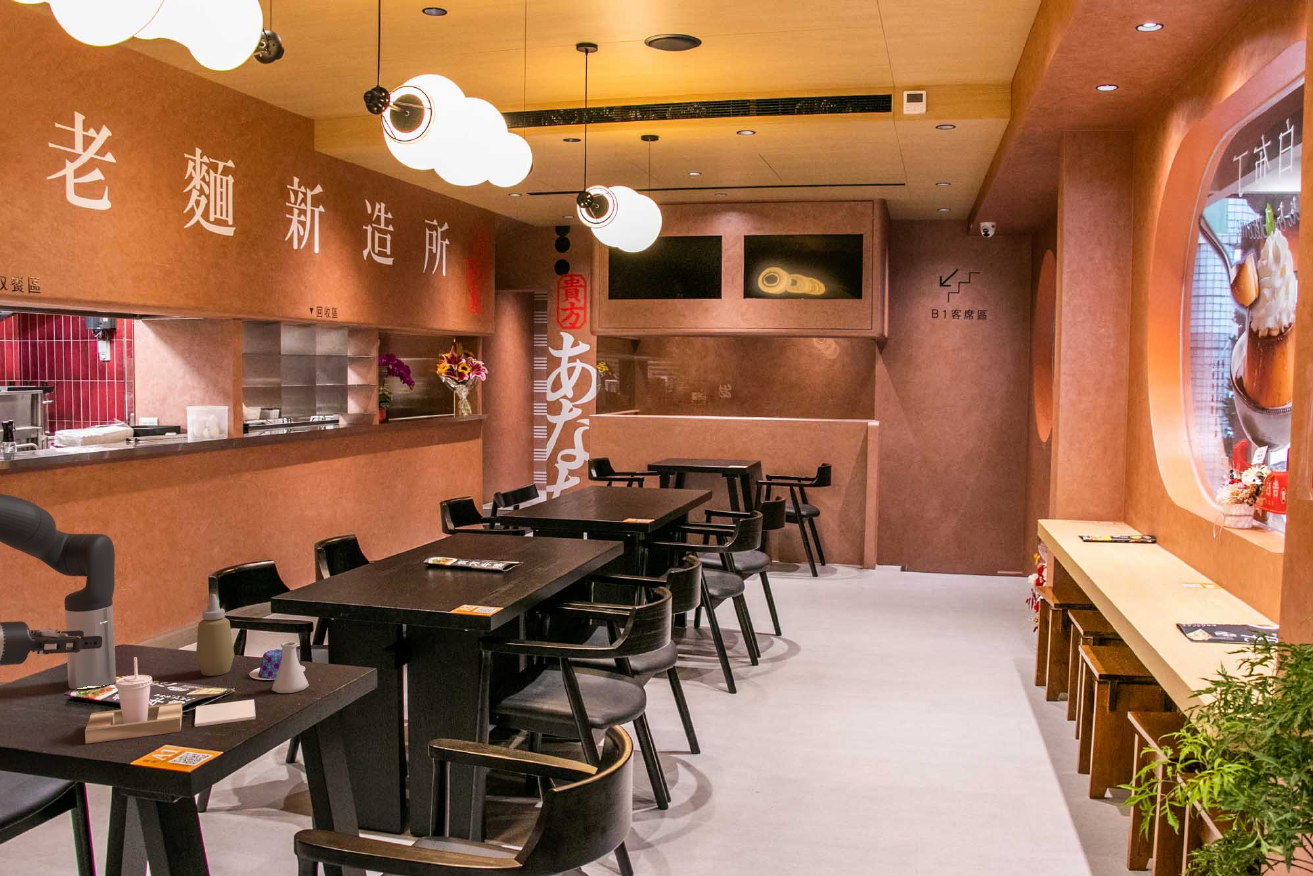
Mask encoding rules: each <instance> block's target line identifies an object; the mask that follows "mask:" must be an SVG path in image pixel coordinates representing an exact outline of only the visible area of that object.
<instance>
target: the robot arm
mask: <svg viewBox="0 0 1313 876" xmlns="http://www.w3.org/2000/svg"><path fill="white" fill-rule="evenodd" d="M0 542H1V543H2V544H4V545H6V546H9V547H10V548H13V549H15V550H18V551H20V552H22V553H24V554H27V555H29V556H31V557H32V558H36V559H38V560H40V561H41V562H43V563H44V564H46V565H47V566H49V567H50V568H51V569H53V570H54V571H56V572H57V573H59V574H61V575H64V576H66V577H86V579H85V580H86V581H85V582H86V584H85V586H84V587H83V588H82V589H79V590H76V591H73V592H71V593H69V594H67V595H66V596H65V598H64V602H63V603H64V617H65V630H59V629H55V630H54V629H52V628H45V629H40V628H39V629H33V630H32V629H30V627H29V626H28V623H26V622H25V621H18V620H17V621H2V622H1V621H0V666H11V665H14V666H15V665H22V664H23V663H24V662H26V661H27V658H28V657H29V654H30V652H31V653H36V654H37V655H49V654H66V661H67V680H68V688H69V689H72V690H77V688H83V687H87V686H103V685H107V686H110V685H113V684H114V683H115V682H116V681H117V673H116V669H117V668H116V652H115V651H116V648H115V628H114V626H115V625H114V608H113V607H114V605H113V603H114V602H113V598H114V592H115V586H116V585H115V576H116V575H115V572H116V571H115V570H116V569H115V565H116V562H115V561H116V556H115V555H116V553H115V547H114V542H113V540H112V539H111V537H110V536H108V535H107V534H103V533H67V532H63V531H61V530H58V529H57V524H56V521H55V518H54V517H53V516H52V514H51V513H49V511H48V510H46V509H44V508H43V507H40V506H39V505H37V504H35V503H33V502H31V501H29V500H26V499H24V498H20V497H17V496H15V495H9V494H5V493H4V494H3V493H0ZM109 684H110V685H109Z"/></svg>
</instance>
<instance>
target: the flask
mask: <svg viewBox="0 0 1313 876" xmlns="http://www.w3.org/2000/svg"><path fill="white" fill-rule="evenodd" d="M297 646H298V642H296V641H287V642H283V643H281V644H280V647H281V649H282V660H281V664H280V667H279V670H278V673H277V676H276V678H275V680H274V682H273V685H272V688H271V691H273V692H276V693H278V694H279V693H280V694H294V693H297V692H302V691H304V690H305V689H307V688H308V687H309V686H310V684H309V681H308V679H307V678H306V676H305V673H304V672H303V671H302V668H301V666H300V665H301V664H300V661H299V659H298V655H297V654H298V653H297Z"/></svg>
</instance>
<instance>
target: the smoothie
mask: <svg viewBox="0 0 1313 876" xmlns="http://www.w3.org/2000/svg"><path fill="white" fill-rule="evenodd" d="M133 669H134V670H133V673H134V674H133V675H127V676H124V677H121V678H119V679H118V678H117V679H116V681H115V682H114V683H115V685H114V686H115V688H116V689H117V692H118V693H117V694H118V699H119V705H120V710H122V716H123V721H124V724H126V723H134V722H142V721H147V717H148V706H150V705H149V704H150V695H151V694H150V693H151V685H152V684H153V677H152V676H151V675H147V674H139V673H138V670H139V669H138V657H137V656H135V657H133Z"/></svg>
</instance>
